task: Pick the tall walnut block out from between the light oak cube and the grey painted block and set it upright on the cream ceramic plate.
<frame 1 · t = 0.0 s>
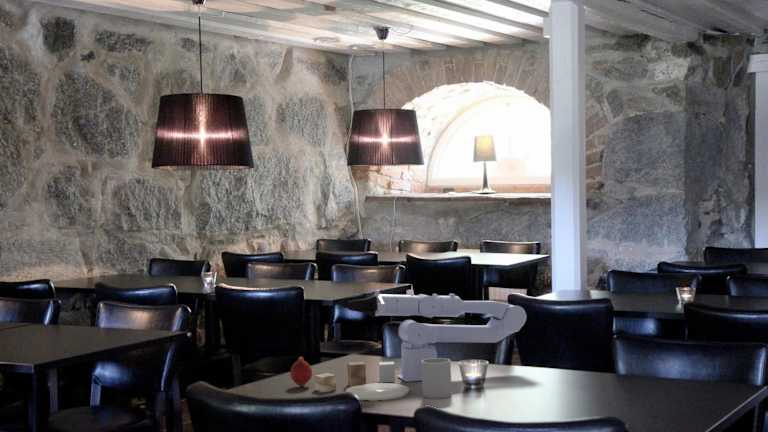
hand: (344, 304, 263), 22 cm above the table, tool horizontal, fingers open, 7 cm apart
oak block: (325, 390, 258), on the table
walnut block: (357, 385, 263), on the table
plate: (377, 394, 251), on the table
onion: (301, 387, 264), on the table
cup: (439, 395, 247), on the table
grey block: (387, 381, 267), on the table
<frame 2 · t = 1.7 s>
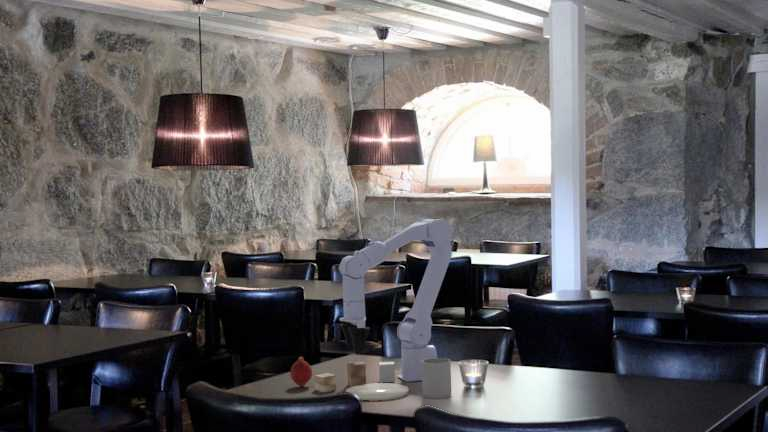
hand: (355, 351, 262), 9 cm above the table, tool pointing down, fingers open, 7 cm apart
nothing on the table moved.
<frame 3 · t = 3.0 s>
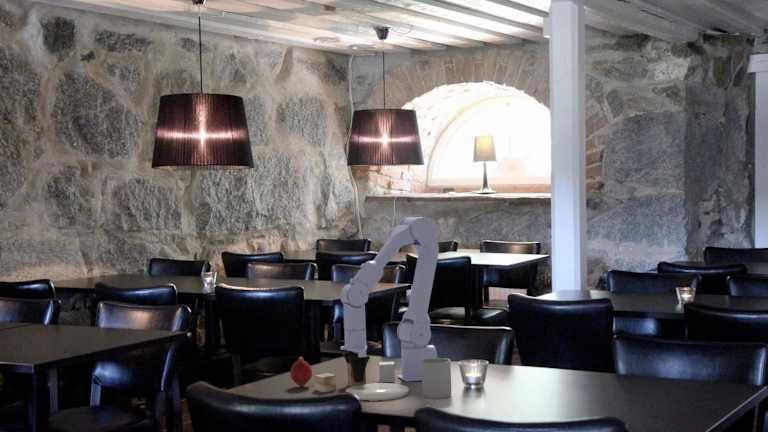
hand: (356, 380, 263), 1 cm above the table, tool pointing down, fingers closed on walnut block, 4 cm apart
walnut block: (357, 385, 263), on the table, touching gripper
everything else where it was.
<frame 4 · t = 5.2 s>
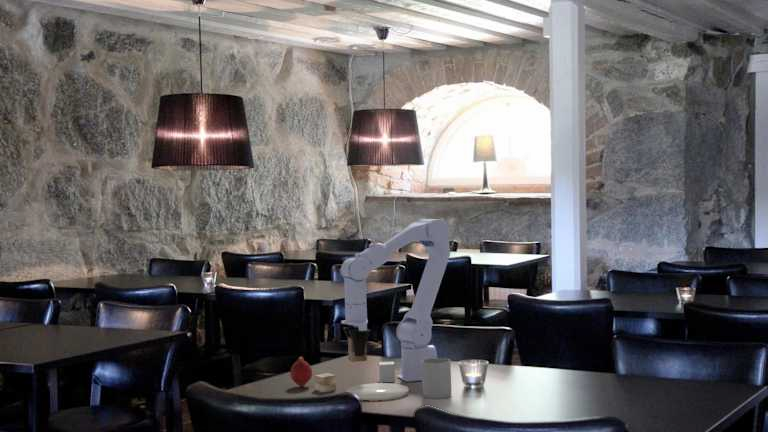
hand: (357, 354, 261), 8 cm above the table, tool pointing down, fingers closed on walnut block, 4 cm apart
walnut block: (357, 360, 261), point 7 cm above the table, touching gripper
everything else where it was.
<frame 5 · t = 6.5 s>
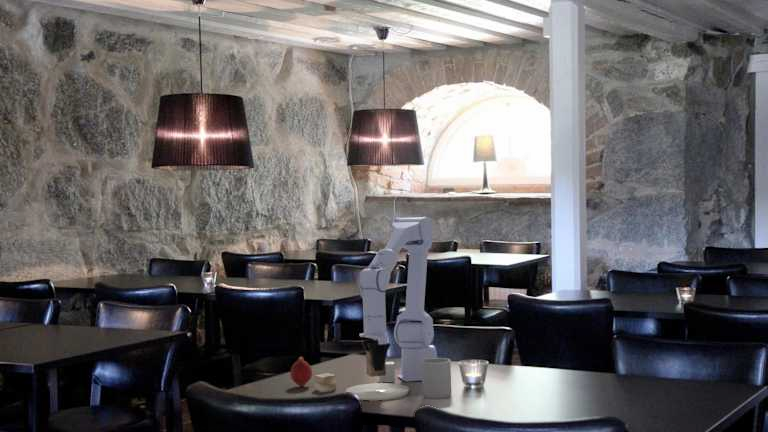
hand: (376, 368, 250), 6 cm above the table, tool pointing down, fingers closed on walnut block, 4 cm apart
walnut block: (376, 374, 250), point 5 cm above the table, touching gripper
everything else where it was.
when the fingers open (4 cm above the table, at t = 7.3 s): walnut block drops 2 cm, resting on plate.
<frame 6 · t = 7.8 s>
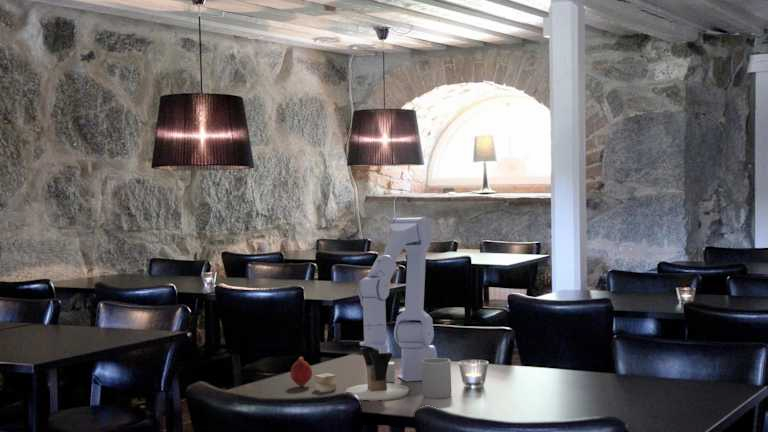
hand: (376, 377, 250), 4 cm above the table, tool pointing down, fingers open, 7 cm apart
walnut block: (377, 389, 250), point 1 cm above the table, touching plate
everything else where it was.
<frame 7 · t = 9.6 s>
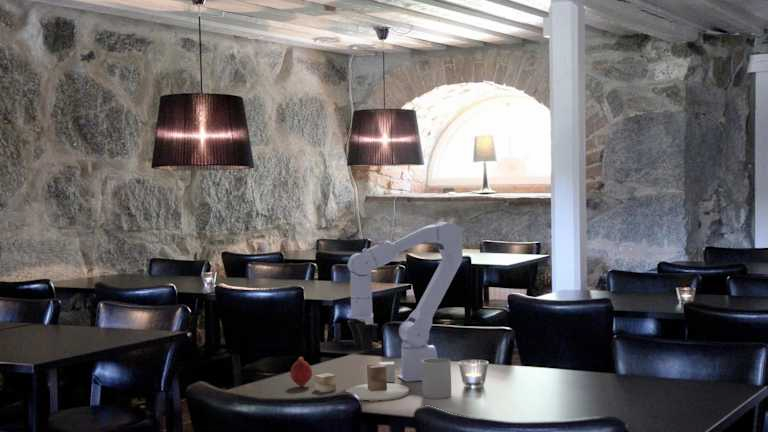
hand: (363, 348, 266), 9 cm above the table, tool pointing down, fingers open, 7 cm apart
nothing on the table moved.
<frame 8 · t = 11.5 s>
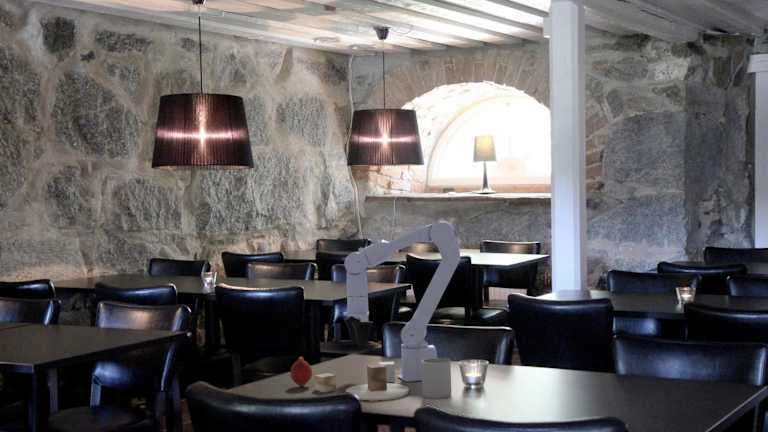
hand: (359, 345, 271), 9 cm above the table, tool pointing down, fingers open, 7 cm apart
nothing on the table moved.
at the end: walnut block inside the target area on the plate (0.1 cm from its centre), point 1.2 cm above the plate's base; walnut block tilted 0°; the gripper is holding nothing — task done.
